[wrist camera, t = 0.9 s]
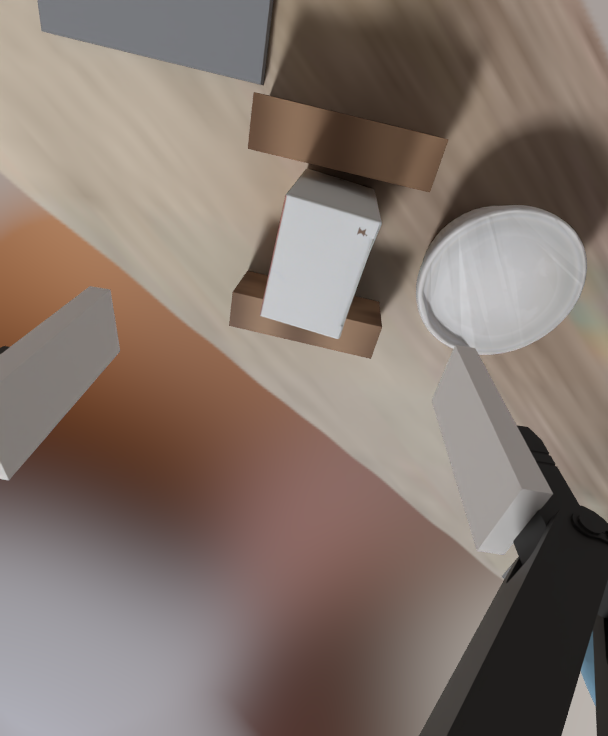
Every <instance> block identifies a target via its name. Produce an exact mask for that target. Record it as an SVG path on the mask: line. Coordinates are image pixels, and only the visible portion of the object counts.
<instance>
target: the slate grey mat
mask: <svg viewBox="0 0 608 736" xmlns="http://www.w3.org/2000/svg"><path fill="white" fill-rule="evenodd" d="M272 7H273V0H38V8H39V15H40V22H41V30H42V31H44V32H47V33H51V34H55V35H59V36H63V37H67V38H72V39H76V40H80V41H84V42H88V43H92V44H96V45H100V46H104V47H108V48H113V49H117V50H121V51H125V52H129V53H133V54H137V55H141V56H145V57H149V58H154V59H158V60H162V61H166V62H170V63H174V64H178V65H182V66H186V67H190V68H195V69H199V70H203V71H207V72H211V73H215V74H219V75H223V76H227V77H231V78H236V79H240V80H244V81H248V82H252V83H256V84H260V85H264V76H265V68H266V59H267V50H268V42H269V33H270V24H271V16H272Z"/></svg>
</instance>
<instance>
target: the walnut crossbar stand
mask: <svg viewBox="0 0 608 736" xmlns="http://www.w3.org/2000/svg"><path fill="white" fill-rule="evenodd" d="M447 143H448V139H444V138H441V137H437V136H433V135H429V134H425V133H421V132H417V131H413V130H409V129H405V128H400V127H396V126H392V125H388V124H384V123H380V122H376V121H372V120H368V119H363V118H359V117H355V116H351V115H347V114H343V113H339V112H335V111H331V110H327V109H322V108H318V107H314V106H310V105H306V104H302V103H298V102H294V101H290V100H285V99H281V98H277V97H273V96H269V95H264V94H260V93H255V92H254V95H253V104H252V114H251V123H250V133H249V142H248V149H252V150H256V151H260V152H264V153H268V154H272V155H277V156H281V157H285V158H289V159H293V160H297V161H301V162H306V163H310V164H314V165H318V166H322V167H326V168H330V169H335V170H339V171H343V172H347V173H351V174H355V175H359V176H364V177H368V178H372V179H376V180H380V181H384V182H389V183H393V184H397V185H401V186H405V187H409V188H413V189H418V190H422V191H426V192H430V190H431V188H432V185H433V182H434V179H435V176H436V174H437V171H438V168H439V165H440V162H441V159H442V157H443V154H444V151H445V148H446V145H447ZM267 279H268V275H264V274H259V273H255V272H251V271H247V272H246V274H245V275H244V277H243V278H242V280H241V281H240V282H239V284H238V285H237V287H236V288H235V290H234V291H233V294H232V303H231V313H230V322H229V326H233V327H237V328H242V329H246V330H250V331H255V332H259V333H263V334H267V335H272V336H276V337H280V338H284V339H289V340H293V341H297V342H302V343H306V344H310V345H314V346H319V347H323V348H327V349H331V350H336V351H340V352H344V353H349V354H353V355H357V356H361V357H366V358H370V359H371V357H372V354H373V351H374V348H375V346H376V343H377V340H378V337H379V334H380V332H381V329H382V323H381V314H380V306H379V302H378V301H374V300H369V299H365V298H361V297H357V296H354V297H353V300H352V303H351V305H350V308H349V311H348V314H347V317H346V320H345V323H344V326H343V330H342V333H341V336H340V338H339V339H335V338H332V337H329V336H325V335H322V334H319V333H315V332H312V331H309V330H306V329H302V328H299V327H296V326H292V325H289V324H286V323H282V322H279V321H276V320H272V319H269V318H266V317H262V316H260V312H261V307H262V302H263V298H264V293H265V289H266V284H267Z"/></svg>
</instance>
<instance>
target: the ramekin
mask: <svg viewBox="0 0 608 736" xmlns="http://www.w3.org/2000/svg"><path fill="white" fill-rule="evenodd" d="M586 271H587V258H586V253H585V249H584V246H583V243H582V241H581V240H580V238H579V236H578V235H577V233H576V232H575V231H574V229H573V228H572V227H571V226H570V225H569V224H568V223H566V222H565V221H564V220H562V219H561V218H559V217H558V216H556V215H554V214H552V213H550V212H548V211H546V210H543V209H540V208H536V207H532V206H525V205H507V206H489V207H481V208H479V209H474V210H472V211H470V212H468V213H464V214H463V215H461V216H460V217H458V218H455V219H454V220H453V221H452V222H450V223H449V224H447V226H446V227H444V228H443V229H442V230H441V231H440V232H439V234H438V235H437V236H436V237H435V239H434V240H433V241H432V242H431V244H430V247H429V248H428V249H427V251H426V254H425V256H424V259H423V263H422V265H421V268H420V271H419V274H418V278H417V284H416V300H417V306H418V310H419V313H420V316H421V318H422V321H423V323H424V324H425V326H426V327H427V329H428V330H429V331H430V333H431V334H432V335H433V336H434V337H436V338H437V339H438V340H439V341H440V342H442V343H443V344H445V345H447V346H449V347H451V348H453V349H454V347H455V345H459V346H465V347H472V348H475V349H476V351H477V352H478V354H479V355H489V354H500V353H505V352H510V351H513V350H516V349H519V348H522V347H524V346H527V345H529V344H531V343H533V342H535V341H537V340H538V339H540V338H542V337H543V336H545V335H546V334H548V333H549V332H550V331H552V330H553V329H554V328H555V327H557V325H559V324H560V323H561V322H562V321H563V320H564V318H565V317H566V316H567V315H568V314H569V312H570V311H571V310H572V309H573V307H574V305H575V304H576V302H577V300H578V299H579V297H580V295H581V292H582V289H583V286H584V283H585V279H586Z"/></svg>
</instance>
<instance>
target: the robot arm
mask: <svg viewBox="0 0 608 736" xmlns="http://www.w3.org/2000/svg"><path fill="white" fill-rule="evenodd" d="M119 352H120V347H119V341H118V335H117V329H116V322H115V316H114V310H113V303H112V298H111V291H110V290H109V289H103V288H97V287H91V286H90V287H88V288H87V289H86V290H84V291H83V292H82V293H81V294H79V295H78V296H77V297H75V298H74V299H73V300H71V301H70V302H69V303H67V304H66V305H65V306H63V307H62V308H61V309H60V310H58V311H57V312H56V313H54V314H53V315H52V316H50V317H49V318H48V319H46V320H45V321H44V322H42V323H41V324H40V325H38V326H37V327H36V328H35V329H33V330H32V331H31V332H29V333H28V334H27V335H25V336H24V337H23V338H21V339H20V340H19V341H17V342H16V343H15V344H14V345H12V346H11V347H6V346H3V347H1V348H0V479H4V480H9V479H10V478H11V477H12V476H13V475H14V474H15V472H16V471H17V470H18V469H19V468H20V467H21V466H22V464H23V463H24V462H25V461H26V460H27V459H28V457H29V456H30V455H31V454H32V453H33V452H34V450H35V449H36V448H37V447H38V445H40V443H41V442H42V441H43V440H44V439H45V438H46V436H47V435H48V434H49V433H50V432H51V431H52V430H53V428H54V427H55V426H56V425H57V424H58V423H59V421H60V420H61V419H62V418H63V417H64V416H65V414H66V413H67V412H68V411H69V410H70V409H71V408H72V406H73V405H74V404H75V403H76V401H78V399H79V398H80V397H81V396H82V395H83V394H84V392H85V391H86V390H87V389H88V388H89V387H90V385H91V384H92V383H93V382H94V381H95V380H96V378H97V377H98V376H99V375H100V374H101V373H102V372H103V370H104V369H105V368H106V367H107V366H108V365H109V363H110V362H111V361H112V360H113V359H114V358H115V356H116V355H117V354H118V353H119ZM432 403H433V406H434V410H435V413H436V416H437V420H438V423H439V426H440V429H441V433H442V436H443V439H444V443H445V446H446V449H447V453H448V456H449V459H450V463H451V466H452V469H453V473H454V476H455V479H456V483H457V486H458V489H459V493H460V496H461V499H462V503H463V506H464V509H465V513H466V516H467V519H468V523H469V526H470V529H471V532H472V536H473V539H474V542H475V546H476V549H477V551H481V552H488V553H494V554H501V555H504V554H505V553H506V552H507V550H508V549H509V548H510V547H511V545H512V544H513V543H514V545H515V548H516V550H517V553H518V555H519V557H518V558H517V559H516V560H515V562H514V563H513V564H512V565H511V566H510V567H509V569H508V570H507V571H506V572H505V573H504V574H503V576H502V577H503V578H504V581H503V583H502V585H501V587H500V589H499V590H498V592H497V594H496V596H495V598H494V600H493V601H492V603H491V605H490V607H489V609H488V610H487V612H486V614H485V616H484V618H483V620H482V621H481V623H480V625H479V627H478V629H477V631H476V632H475V634H474V636H473V638H472V640H471V642H470V643H469V645H468V647H467V649H466V651H465V653H464V655H463V656H462V658H461V660H460V662H459V664H458V666H457V667H456V669H455V671H454V673H453V675H452V677H451V678H450V680H449V682H448V684H447V686H446V687H445V690H444V691H443V693H442V695H441V697H440V699H439V700H438V702H437V704H436V706H435V707H434V709H433V711H432V713H431V715H430V717H429V718H428V720H427V722H426V724H425V726H424V728H423V729H422V731H421V733H420V735H419V736H561V735H562V731H563V728H564V725H565V721H566V718H567V715H568V711H569V707H570V704H571V701H572V698H573V694H574V691H575V687H576V684H577V681H578V677H579V674H580V671H581V673H582V676H583V679H584V681H585V684H586V686H587V689H588V691H589V693H590V695H591V698H592V700H593V702H594V704H595V706H596V721H597V736H608V523H607V522H606V521H605V520H604V519H603V518H602V517H600V516H599V515H598V514H596V513H595V512H594V511H592V510H590V509H588V508H586V507H584V506H580V505H579V504H578V502H577V500H576V498H575V497H574V495H573V493H572V492H571V490H570V488H569V486H568V485H567V483H566V481H565V480H564V478H563V476H562V474H561V473H560V471H559V469H558V468H557V467H556V466H555V462H554V461H553V459H552V457H551V456H549V452H548V451H547V449H546V447H545V445H544V444H543V442H542V440H541V439H540V438H539V437H538V436H537V435H536V434H535V433H534V432H533V431H532V430H531V429H529V428H528V427H523V426H517V425H516V423H515V422H514V420H513V418H512V416H511V414H510V412H509V410H508V408H507V407H506V405H505V403H504V401H503V399H502V397H501V395H500V394H499V392H498V390H497V388H496V386H495V384H494V382H493V380H492V379H491V377H490V375H489V373H488V371H487V369H486V367H485V366H484V364H483V362H482V360H481V358H480V356H479V354H478V352H477V351H476V349H475V348H472V347H465V346H459V345H455V347H454V349H453V352H452V354H451V356H450V359H449V361H448V363H447V366H446V368H445V370H444V373H443V375H442V377H441V380H440V382H439V384H438V387H437V389H436V391H435V394H434V396H433V398H432Z"/></svg>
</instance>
